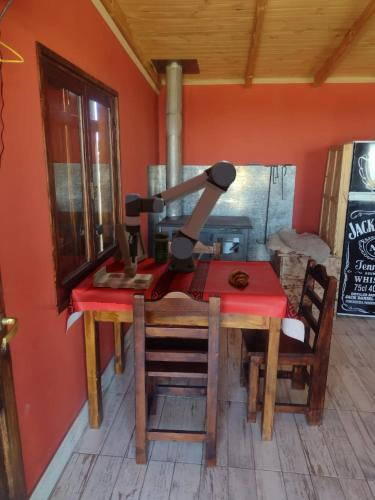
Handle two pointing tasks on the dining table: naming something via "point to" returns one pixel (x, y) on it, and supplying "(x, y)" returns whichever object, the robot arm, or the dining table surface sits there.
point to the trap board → (121, 280)
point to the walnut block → (130, 271)
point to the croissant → (238, 277)
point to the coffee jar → (162, 247)
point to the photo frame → (124, 245)
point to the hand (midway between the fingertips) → (134, 268)
